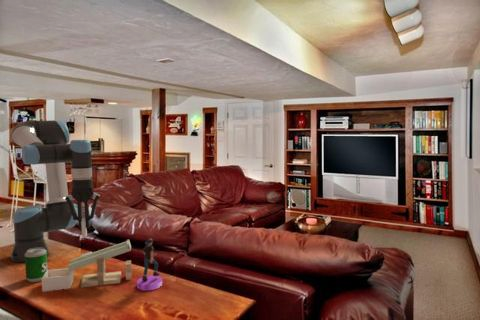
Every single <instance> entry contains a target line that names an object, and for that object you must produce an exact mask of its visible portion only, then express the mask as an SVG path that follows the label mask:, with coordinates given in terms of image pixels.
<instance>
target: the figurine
mask: <svg viewBox="0 0 480 320" xmlns="http://www.w3.org/2000/svg"><path fill="white" fill-rule="evenodd" d="M153 242H154V239H152V238H150V237H149V238H148V239H146V241H145V242H144V244H145V246H144V248H143V249H142V253H143V254H144V262H143V263H144V270H143V275H142V277H140V278H138V279H137V280H136V287H137V288H138V290H141V291H152V290H153V291H154V290H157V289H159V288H161V287H162V286H163V277H161V276H160V273H159V272H158V270H159V269H158V268H159V263H158V262H157V261H156V259H155V258H154V251H155V248H154V246H153ZM149 263H150V264H153V265H154V266H153V267H154V269H153V273H152V274H149V275H148V271H149ZM160 286H161V287H160Z"/></svg>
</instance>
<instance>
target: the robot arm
mask: <svg viewBox="0 0 480 320" xmlns="http://www.w3.org/2000/svg"><path fill="white" fill-rule="evenodd" d="M10 135H11V139H12V141H13V143H14V144H16V145H18V146H20V148H21V158H22V162H23V164H25V165H43V164H44V165H45V174H46V182H47V193H48V201H46V203H45V207H43V206H42V205H40V204H35V205H34V204H33V205H27V206H25V207H21V208H19V209H17V210H16V211H14V212H13V215H12V216H13V220H12V223H13V229H14V230H13V231H14V232H13V233H14V244H13V247H12V251H11V255H10V258H11V261H12V262H14V263H25V253H26V252H27V250H29V249H32V248H38V247H41V248H44V249H45V250H46V251H47V257H48V256H49V255H50V252H49V248H48V247H49V246H48V245H47V243H46V240H45V237H44V236H45V235H44V233H49V232H55V231H60V230H66V229H71V228H73V227H74V226H75V225H76V224H78V229H80V230H81V238H87V236H88V230H87V229H89V228H90V220H92V219H94V217H95V213H96V207H97V203H98V201H99V198H100V196H101V195H100V194H99V193H98V194H97V193H95V190H94V189H93V187H94V185H93V178H92V177H93V166H92V164H93V163H92V162H93V161H92V143H91V141H90V140H89V139H72V140H71V139H70V137H71V136H70V131H69V128H68V126H67V124H66V122H64V121H62V120H26V121H21V122H20V123H18V124H16V125H15V126H14V127H13V128H12V130H11V134H10ZM66 163H70V168H71V170H70V171H71V178H72V180H71V192H70V194H69V191H68V190H69V189H68V180H67V171H66ZM73 198H74V200H75V201H76V202H77V203H74V201H73ZM91 198H93V203H92V206H91V211H90V206H89V204H90V203H89V202H90V199H91ZM83 203H84V219H83ZM77 222H78V223H77Z"/></svg>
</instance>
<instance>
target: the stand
mask: <svg viewBox="0 0 480 320" xmlns="http://www.w3.org/2000/svg"><path fill="white" fill-rule="evenodd" d="M96 263H97V264H96V268H97V270H96V271H97V273H92V274H91V273H90V274H84V275H83V277H82V280H81V282H80V288H86V287H87V288H89V287H97V286H105V285H113V284H120V283H121V281H122V271H121V270H119V271H109V272H106V259H105V260H103V256H100V257H97V262H96ZM124 264H125V268H124V269H125V280H126V281H129V280H130V281H131V280H132V260H131V259H130V260H125V263H124Z"/></svg>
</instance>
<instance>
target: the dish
mask: <svg viewBox="0 0 480 320" xmlns="http://www.w3.org/2000/svg"><path fill="white" fill-rule="evenodd" d="M60 275H65V276H60ZM74 281H75V279H74V270H73V271H70V272H69V270H68V267H66V268H57V269H48V270H47V271H46V273H45V274H44V276H43V277H42V281H41V290H42V291H41V292H42V293H45V292H53V291H54V290H55V291H62V289H64V290H70V289H71V287H72V284H73V282H74ZM55 291H54V292H55Z"/></svg>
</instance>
